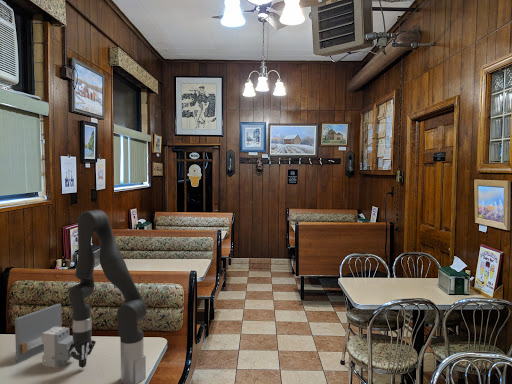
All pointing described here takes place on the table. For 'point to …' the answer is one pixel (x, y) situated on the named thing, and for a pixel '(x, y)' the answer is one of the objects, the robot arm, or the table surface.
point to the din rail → (31, 344)
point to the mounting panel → (35, 329)
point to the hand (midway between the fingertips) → (82, 366)
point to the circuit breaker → (57, 346)
